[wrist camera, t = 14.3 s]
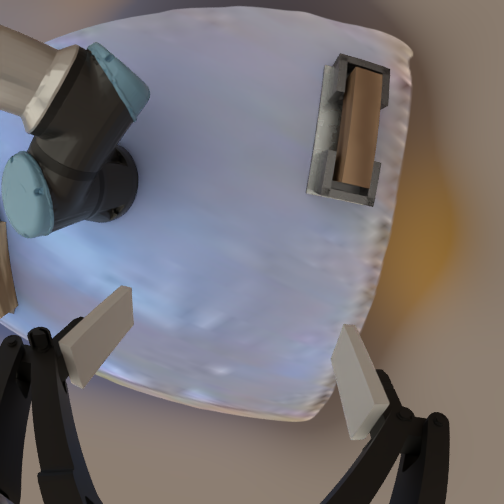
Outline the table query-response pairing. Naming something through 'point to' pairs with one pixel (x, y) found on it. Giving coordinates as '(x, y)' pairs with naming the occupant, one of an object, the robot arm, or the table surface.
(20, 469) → the robot arm
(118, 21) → the table surface
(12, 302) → the cradle
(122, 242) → the table surface
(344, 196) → the grey rectangular holder
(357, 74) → the rail
